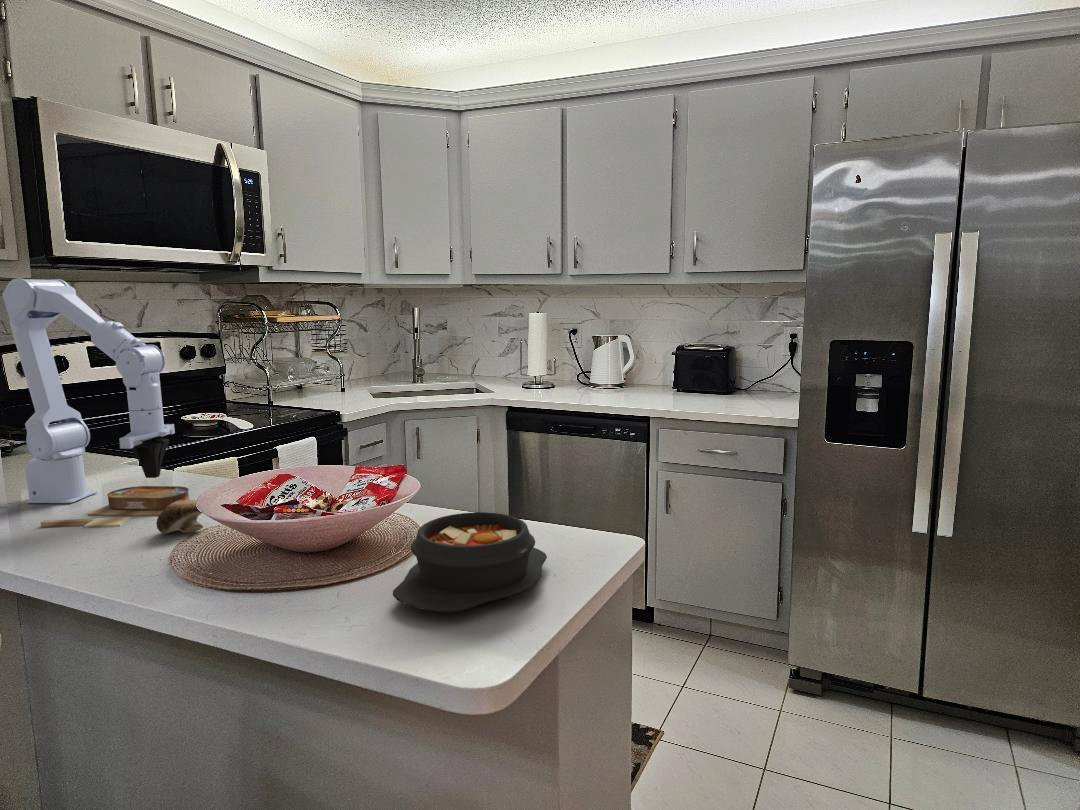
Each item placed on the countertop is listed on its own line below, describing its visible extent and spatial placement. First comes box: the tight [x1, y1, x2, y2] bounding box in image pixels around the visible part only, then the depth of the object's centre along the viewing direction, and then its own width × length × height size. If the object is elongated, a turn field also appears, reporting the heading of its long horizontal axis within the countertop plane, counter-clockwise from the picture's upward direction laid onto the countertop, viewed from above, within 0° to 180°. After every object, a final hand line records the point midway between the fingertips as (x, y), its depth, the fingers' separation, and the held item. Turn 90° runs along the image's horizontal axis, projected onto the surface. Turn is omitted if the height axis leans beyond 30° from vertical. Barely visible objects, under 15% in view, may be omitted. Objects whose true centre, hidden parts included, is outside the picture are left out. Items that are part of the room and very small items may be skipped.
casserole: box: [392, 511, 548, 613], centre depth 97 cm, size 25×19×8 cm
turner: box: [40, 516, 132, 529], centre depth 128 cm, size 14×4×1 cm, turn 97°
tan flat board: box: [87, 504, 163, 517], centre depth 137 cm, size 17×8×1 cm, turn 87°
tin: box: [106, 485, 190, 510], centre depth 138 cm, size 15×3×8 cm
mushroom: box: [155, 499, 204, 535], centre depth 122 cm, size 8×8×6 cm
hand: (152, 477), depth 139 cm, fingers closed
